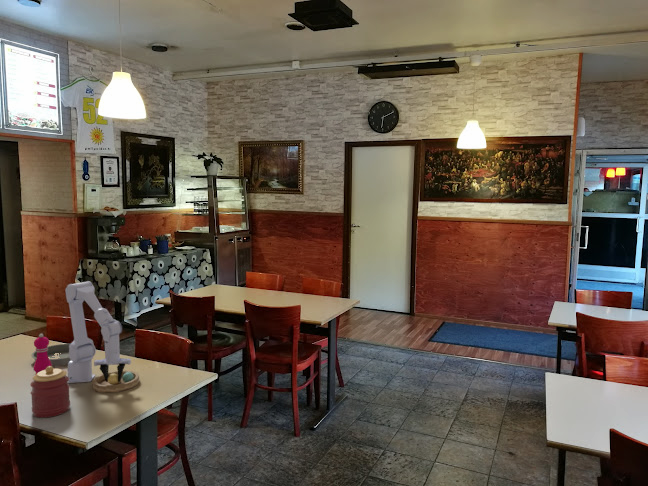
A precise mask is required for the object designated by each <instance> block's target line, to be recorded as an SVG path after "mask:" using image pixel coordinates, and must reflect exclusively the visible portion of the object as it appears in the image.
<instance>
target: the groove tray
mask: <svg viewBox="0 0 648 486" xmlns="http://www.w3.org/2000/svg"><path fill="white" fill-rule="evenodd" d="M127 372H131V373H132V374H133V376H134V378H133V380H131V381H129V382H126V383H125V382H124V381H123V379H122V377H123V375H124V374H125V373H127ZM113 373H115V374H117V375H118V370H114V371H108V374H109V375H110V374H113ZM139 382H140V375H139V373H138V372H136V371H133V370H123V372H122V376H121V381H120V382H117V383H116V384H114V385H112V384H109V383H108V382H106V381H105V377H104V375H103V373H101V374H100V375H97V376H96V377H94V378H93V379H92V388H93V390H94V391H96V392H99V393H104V394H107V393H108V394H110V393H111V394H112V393H118V392H119V393H120V392H124V391H128V390H131V389H134V387H136V386H137V385H138V384H139Z"/></svg>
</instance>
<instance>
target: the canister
mask: <svg viewBox="0 0 648 486" xmlns="http://www.w3.org/2000/svg"><path fill="white" fill-rule="evenodd" d="M35 374H36V373H35ZM35 374H34V375H33V376H32V381H31V382H30V387H31V391H30V395H31V413H32V416H34V417H36V418H51V417H56V416H59V415H62V414H64V413H66V412H67V411H69V409H70V406H71V400H70V384H69V383H68V381H69V377H68V375H67V371H65V370H63V369H61V368H58V367H57V368H54V366H48V367H47V368H46V370H43V371H40V372H38V373H37V374H36V375H35Z"/></svg>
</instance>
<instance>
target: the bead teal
mask: <svg viewBox="0 0 648 486" xmlns="http://www.w3.org/2000/svg"><path fill="white" fill-rule="evenodd" d="M133 378H134V376H133V374H132V373H131V372H127V373H125V374H124V375H123V377H122V379H123V381H124V382H125V383H126V382H129V381H131V380H133Z"/></svg>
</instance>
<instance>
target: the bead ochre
mask: <svg viewBox="0 0 648 486" xmlns="http://www.w3.org/2000/svg"><path fill="white" fill-rule="evenodd" d="M117 382H118V375H117V374H115V373H113V374H110V375H109V376H108V383H109V384H112V385H114V384H116V383H117Z"/></svg>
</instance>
